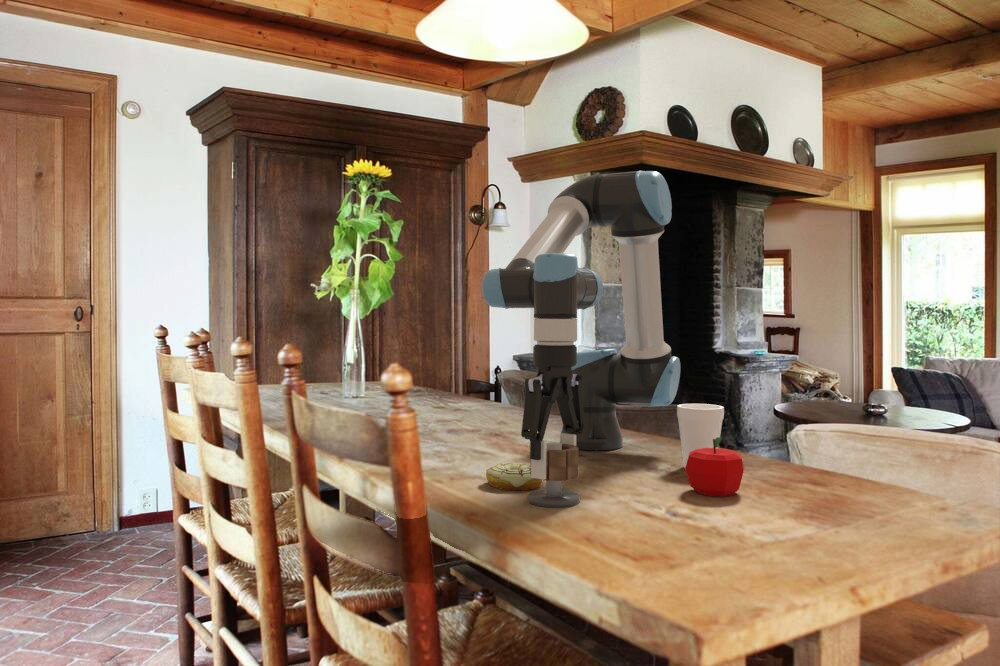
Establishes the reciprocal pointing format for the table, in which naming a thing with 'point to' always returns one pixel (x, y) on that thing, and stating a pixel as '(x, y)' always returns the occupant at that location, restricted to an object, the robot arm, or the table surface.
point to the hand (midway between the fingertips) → (553, 474)
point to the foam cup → (698, 426)
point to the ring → (561, 463)
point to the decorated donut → (511, 477)
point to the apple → (714, 470)
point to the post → (553, 491)
